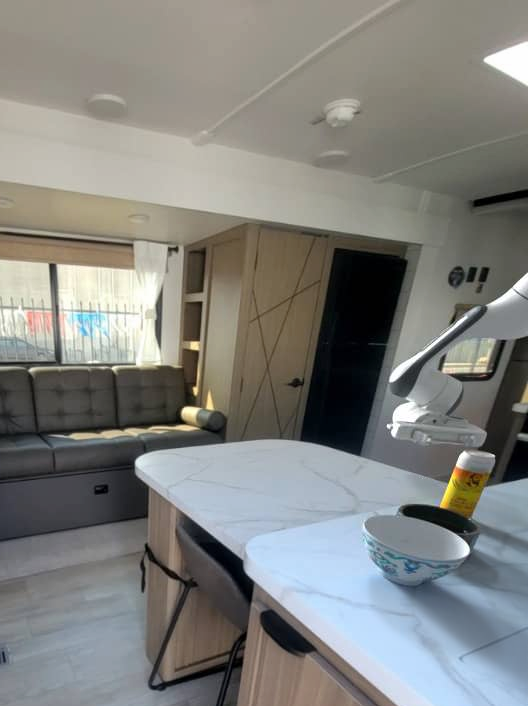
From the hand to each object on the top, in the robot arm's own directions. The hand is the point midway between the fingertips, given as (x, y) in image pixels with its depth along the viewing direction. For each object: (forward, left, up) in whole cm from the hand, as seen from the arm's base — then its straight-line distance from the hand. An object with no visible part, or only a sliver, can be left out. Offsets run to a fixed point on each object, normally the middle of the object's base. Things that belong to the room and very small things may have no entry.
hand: (450, 441), depth 96 cm
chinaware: (+24, +39, -14) cm, 48 cm away
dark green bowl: (+13, +26, -14) cm, 32 cm away
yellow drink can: (+1, +12, -14) cm, 19 cm away
